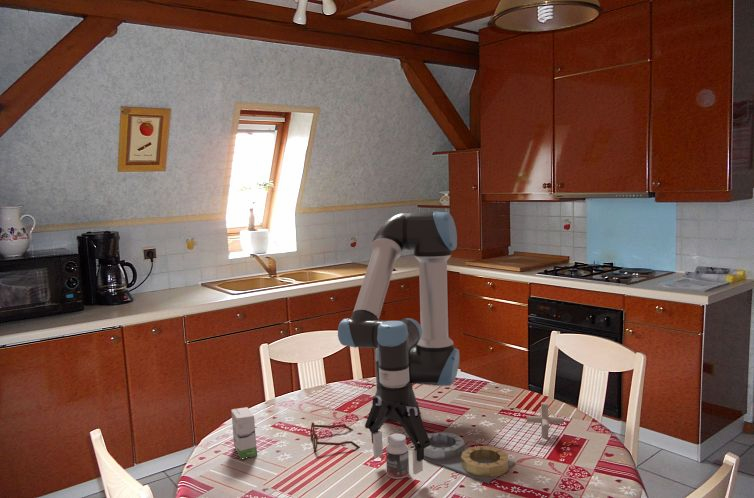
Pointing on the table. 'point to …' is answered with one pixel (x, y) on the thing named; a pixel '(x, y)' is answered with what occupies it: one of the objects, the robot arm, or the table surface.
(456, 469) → the slate board
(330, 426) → the glasses
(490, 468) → the brass socket
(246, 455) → the ink box
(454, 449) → the grey socket
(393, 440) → the pill bottle
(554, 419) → the pipe connector
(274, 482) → the table surface
